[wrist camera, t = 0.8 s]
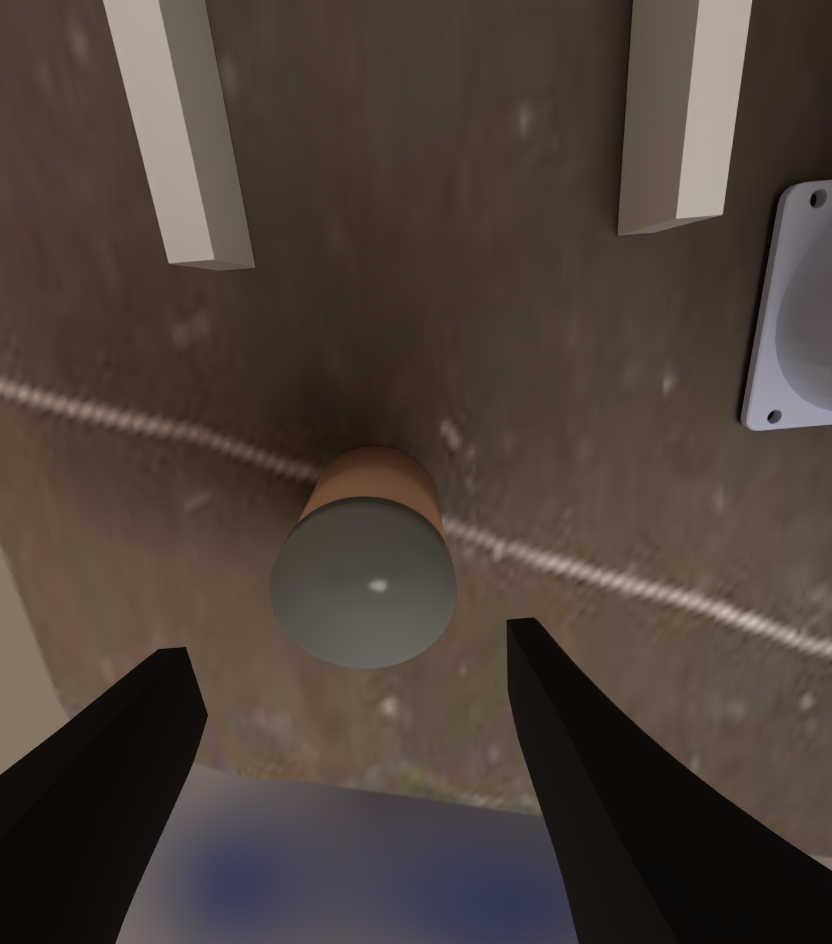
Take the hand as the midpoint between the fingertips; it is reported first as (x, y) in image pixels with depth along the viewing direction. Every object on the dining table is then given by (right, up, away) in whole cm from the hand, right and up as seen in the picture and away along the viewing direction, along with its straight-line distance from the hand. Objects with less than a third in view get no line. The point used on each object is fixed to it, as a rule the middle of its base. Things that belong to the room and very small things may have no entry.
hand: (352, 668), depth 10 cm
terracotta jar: (0, +3, +8) cm, 9 cm away
